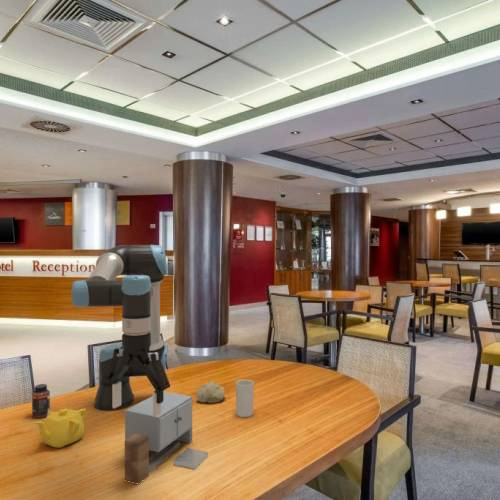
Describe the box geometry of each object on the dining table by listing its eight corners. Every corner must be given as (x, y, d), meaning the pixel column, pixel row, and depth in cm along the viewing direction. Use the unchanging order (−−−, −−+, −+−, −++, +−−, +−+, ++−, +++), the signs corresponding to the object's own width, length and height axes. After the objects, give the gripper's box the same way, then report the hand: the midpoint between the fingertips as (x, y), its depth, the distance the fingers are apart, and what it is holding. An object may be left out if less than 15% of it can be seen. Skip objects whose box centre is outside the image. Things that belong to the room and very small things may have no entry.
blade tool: (124, 481, 112) (124, 440, 112) (169, 445, 132) (169, 410, 132) (138, 484, 111) (138, 443, 110) (181, 448, 131) (181, 413, 131)
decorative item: (212, 398, 163) (195, 383, 168) (207, 415, 166) (191, 399, 171) (233, 386, 172) (217, 372, 177) (228, 403, 175) (212, 388, 180)
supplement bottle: (53, 414, 157) (53, 384, 157) (39, 420, 151) (39, 389, 151) (42, 411, 159) (42, 382, 159) (28, 417, 154) (28, 386, 154)
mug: (256, 416, 156) (256, 383, 155) (239, 419, 153) (239, 386, 153) (246, 406, 165) (246, 376, 165) (230, 409, 162) (230, 378, 162)
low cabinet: (125, 459, 124) (125, 410, 124) (161, 434, 140) (161, 391, 140) (161, 468, 118) (161, 417, 118) (195, 441, 135) (195, 397, 135)
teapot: (78, 450, 129) (78, 417, 129) (33, 454, 127) (34, 420, 127) (87, 431, 142) (88, 401, 142) (47, 434, 140) (47, 403, 140)
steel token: (173, 466, 121) (173, 460, 121) (187, 453, 128) (187, 447, 128) (195, 471, 118) (195, 464, 118) (207, 457, 126) (207, 451, 126)
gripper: (91, 331, 115) (91, 408, 115) (166, 339, 104) (166, 424, 105) (110, 326, 122) (110, 398, 122) (183, 333, 111) (183, 413, 112)
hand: (136, 410), depth 113 cm, fingers open, 13 cm apart
